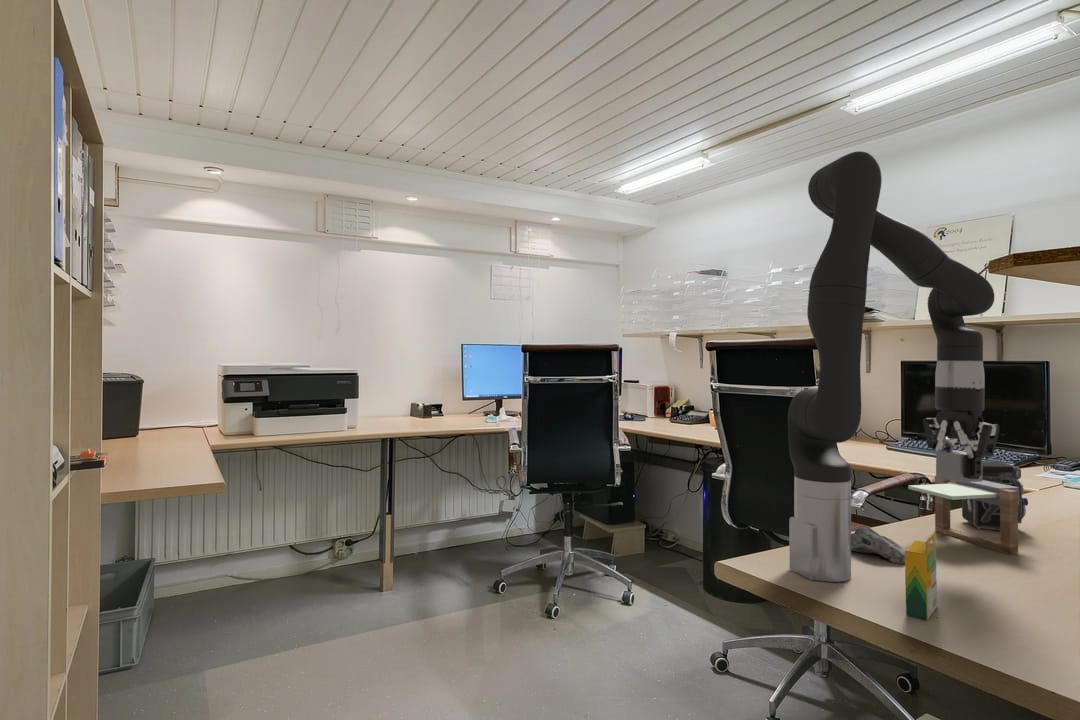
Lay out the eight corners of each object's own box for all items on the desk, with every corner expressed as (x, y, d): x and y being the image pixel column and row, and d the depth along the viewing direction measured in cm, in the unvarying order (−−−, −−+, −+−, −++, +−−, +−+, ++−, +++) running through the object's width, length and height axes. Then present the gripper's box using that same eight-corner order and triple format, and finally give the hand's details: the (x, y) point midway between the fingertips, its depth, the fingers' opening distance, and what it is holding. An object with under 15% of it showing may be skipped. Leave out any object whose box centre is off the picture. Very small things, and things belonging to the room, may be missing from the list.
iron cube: (960, 482, 106) (960, 454, 106) (935, 477, 110) (936, 450, 110) (982, 481, 107) (982, 454, 107) (957, 476, 111) (957, 450, 112)
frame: (1010, 554, 115) (1009, 491, 115) (935, 530, 132) (934, 475, 132) (1018, 553, 116) (1017, 491, 116) (942, 530, 132) (942, 475, 132)
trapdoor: (956, 510, 115) (956, 492, 115) (904, 496, 127) (904, 480, 128) (1026, 506, 119) (1026, 488, 119) (969, 493, 131) (969, 477, 131)
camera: (1032, 535, 128) (1032, 468, 128) (976, 531, 131) (975, 465, 132) (1011, 523, 138) (1011, 460, 138) (959, 519, 141) (959, 458, 141)
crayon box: (915, 601, 92) (914, 528, 92) (937, 606, 90) (937, 531, 90) (904, 615, 87) (904, 537, 87) (927, 621, 85) (927, 542, 85)
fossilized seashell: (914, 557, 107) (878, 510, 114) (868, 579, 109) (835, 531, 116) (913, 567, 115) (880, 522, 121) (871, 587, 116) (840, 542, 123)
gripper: (910, 383, 115) (910, 469, 115) (979, 386, 101) (978, 484, 101) (942, 384, 116) (941, 468, 116) (1014, 386, 102) (1013, 483, 102)
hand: (958, 475), depth 108 cm, fingers closed on iron cube, 5 cm apart
